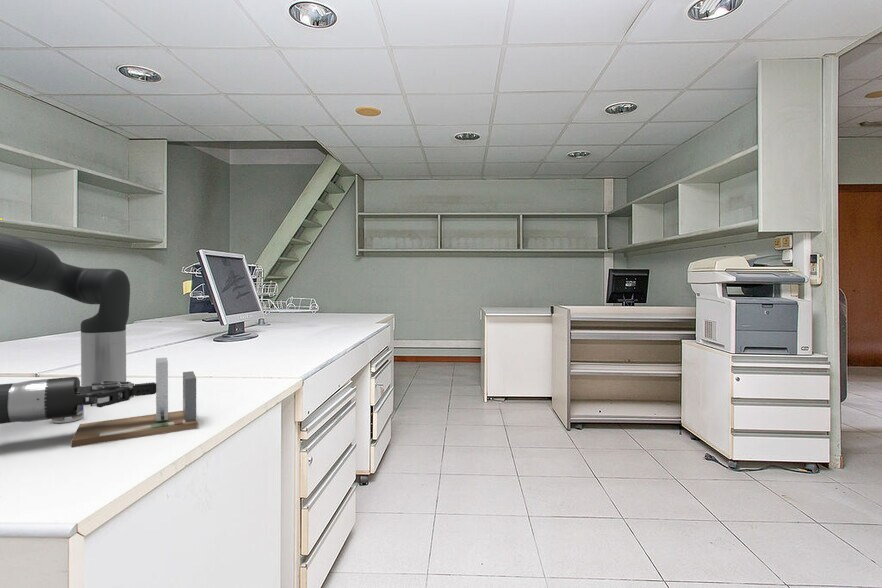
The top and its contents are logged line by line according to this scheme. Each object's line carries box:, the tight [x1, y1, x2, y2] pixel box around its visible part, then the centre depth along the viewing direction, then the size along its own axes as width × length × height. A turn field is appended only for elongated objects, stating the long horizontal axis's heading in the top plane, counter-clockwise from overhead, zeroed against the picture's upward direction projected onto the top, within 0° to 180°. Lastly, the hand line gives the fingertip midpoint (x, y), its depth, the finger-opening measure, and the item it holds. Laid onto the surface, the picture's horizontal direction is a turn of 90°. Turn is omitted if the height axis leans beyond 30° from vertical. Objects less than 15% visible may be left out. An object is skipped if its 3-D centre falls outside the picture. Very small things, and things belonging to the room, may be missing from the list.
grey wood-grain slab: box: [182, 371, 197, 422], centre depth 95 cm, size 8×2×9 cm, turn 34°
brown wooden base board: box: [71, 410, 198, 448], centre depth 90 cm, size 11×20×2 cm, turn 124°
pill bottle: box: [51, 405, 85, 424], centre depth 95 cm, size 5×5×9 cm
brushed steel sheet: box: [155, 357, 169, 421], centre depth 91 cm, size 9×2×12 cm, turn 34°
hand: (156, 388), depth 92 cm, fingers closed
